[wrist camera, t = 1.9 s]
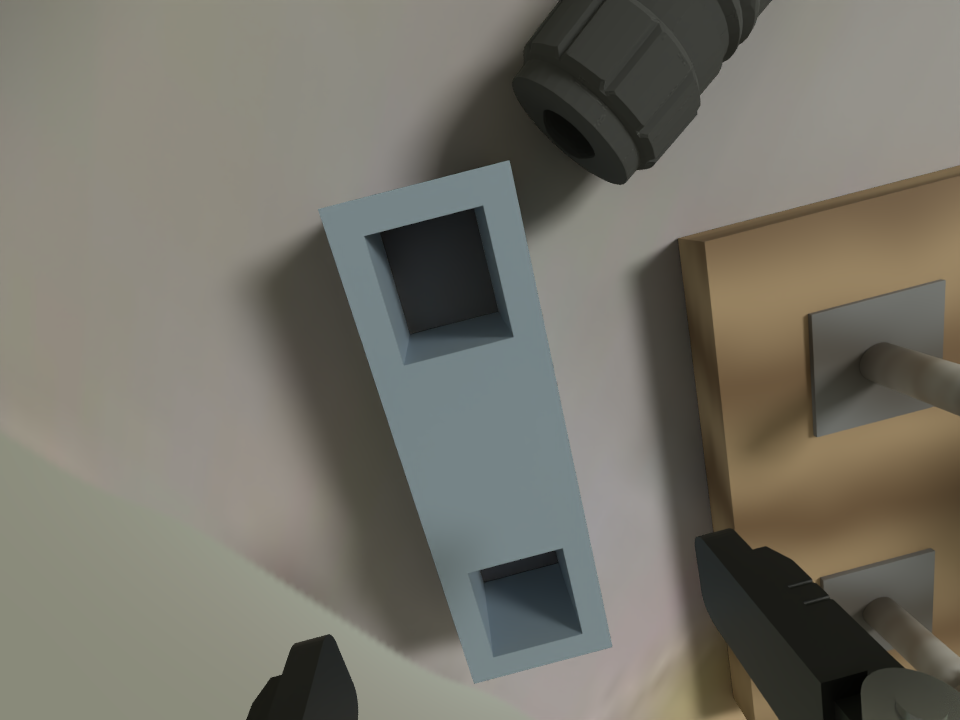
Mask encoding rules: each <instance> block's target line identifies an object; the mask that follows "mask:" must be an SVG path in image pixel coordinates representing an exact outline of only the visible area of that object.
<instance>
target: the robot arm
mask: <svg viewBox="0 0 960 720" xmlns="http://www.w3.org/2000/svg"><path fill="white" fill-rule="evenodd" d="M695 550H696V557H697V563H698V570H699V577H700V584H701V591H702V596H703V600H704V603H705V606H706V608H707V611H708V613H709V615H710V617H711V619H712V621H713V623H714V625H715V626H716V628H717V629H718V631H719V632H720V634H721V635H722V637H723V638H724V640H725V641H726V642H727V644H728V645H729V647H730V648H731V650H732V651H733V653H734V654H735V656H736V657H737V659H738V660H739V662H740V663H741V664H742V666H743V667H744V669H745V670H746V672H747V673H748V675H749V676H750V678H751V679H752V681H753V682H754V684H755V685H756V687H757V688H758V689H759V691H760V692H761V694H762V695H763V697H764V698H765V700H766V701H767V703H768V704H769V706H770V707H771V709H772V710H773V712H774V713H775V714H776V716H777V717H778V719H779V720H960V692H958V691H957V690H956V689H954V688H953V687H951V686H950V685H948V684H947V683H945V682H943V681H941V680H939V679H937V678H935V677H933V676H930V675H928V674H925V673H922V672H919V671H915V670H911V669H906V668H904V667H903V666H902V665H901V664H900V663H899V662H898V661H897V660H896V659H895V658H894V657H892V656H891V655H890V654H889V653H888V652H887V651H886V650H885V649H884V648H883V647H882V646H881V645H880V644H879V643H878V642H877V641H876V640H875V639H874V638H873V637H872V636H871V635H870V634H869V633H868V632H867V631H866V630H865V629H864V628H862V627H861V626H860V625H859V624H858V623H857V622H856V621H855V620H854V619H853V618H852V617H851V616H850V615H849V614H848V613H847V612H846V611H845V610H844V609H843V608H842V607H841V606H840V605H839V604H838V603H837V602H836V601H835V600H834V599H830V597H829V595H828V594H827V593H826V592H825V591H824V590H823V589H822V588H821V587H820V586H819V585H818V584H817V583H814V582H813V580H812V578H811V577H810V576H809V575H808V574H807V573H806V572H805V571H804V570H802V569H801V568H800V567H799V566H798V565H797V564H796V563H795V562H794V561H793V560H792V559H790V558H788V557H786V556H784V555H782V554H780V553H779V552H777V551H775V550H773V549H771V548H769V547H767V546H764V547H760V548H756V549H752V548H751V547H750V546H749V545H748V544H747V543H746V542H745V541H744V540H743V539H742V538H741V536H740V535H739V534H738V533H737V532H736V531H735V530H733V529H731V528H727V529H724V530H720V531H716V532H713V533H709V534H705V535H701V536H698V537H696V538H695ZM246 720H358V701H357V695H356V690H355V687H354V684H353V682H352V679H351V677H350V675H349V672H348V670H347V667H346V665H345V662H344V660H343V658H342V655H341V653H340V651H339V648H338V646H337V643H336V641H335V639H334V638H333V636H331V635H330V634H328V635H324V636H321V637H317V638H313V639H309V640H306V641H302V642H299V643H295V644H294V645H293V646H292V648H291V650H290V652H289V655H288V658H287V661H286V664H285V667H284V670H283V674H282V675H279V676H276V677H272V678H270V680H269V681H268V682H267V684H266V685H265V687H264V688H263V690H262V691H261V692H260V694H259V695H258V696H257V698H256V699H255V701H254V702H253V703H252V706H251V709H250V711H249V714H248V717H247V719H246Z"/></svg>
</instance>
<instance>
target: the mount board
mask: <svg viewBox="0 0 960 720" xmlns="http://www.w3.org/2000/svg"><path fill="white" fill-rule="evenodd" d="M678 243H679V252H680V260H681V268H682V276H683V285H684V293H685V301H686V309H687V318H688V326H689V334H690V342H691V351H692V359H693V367H694V375H695V384H696V392H697V400H698V408H699V417H700V425H701V433H702V441H703V450H704V458H705V466H706V475H707V483H708V491H709V499H710V508H711V516H712V524H713V532H716V531H720V530H724V529H727V528H731V529H733V530H735V531H736V532H737V533H738V534H739V535H740V536H741V538H742V539H743V540H744V541H745V542H746V543H747V544H748V545H749V546H750V547H751V548H752V549H756V548H760V547H764V546H767V547H769V548H771V549H773V550H775V551H777V552H779V553H780V554H782V555H784V556H786V557H788V558H790V559H792V560H793V561H794V562H795V563H796V564H797V565H798V566H799V567H800V568H801V569H802V570H804V571H805V572H806V573H807V574H808V575H809V576H810V577H811V578H812V580H813V582H814V583H817V584H818V585H819V586H820V587H821V588H822V589H823V590H824V591H825V592H826V593H827V594H828V595H829V597H830V599H834V600H835V601H836V602H837V603H838V604H839V605H840V606H841V607H842V608H843V609H844V610H845V611H846V612H847V613H848V614H849V615H850V616H851V617H852V618H853V619H854V620H855V621H856V622H857V623H858V624H859V625H860V626H861V627H862V628H864V629H865V630H866V631H867V632H868V633H869V634H870V635H871V636H872V637H873V638H874V639H875V640H876V641H877V642H878V643H879V644H880V645H881V646H882V647H883V648H884V649H885V650H886V651H887V652H888V653H889V654H890V655H891V656H892V657H894V658H895V659H896V660H897V661H898V662H899V663H900V664H901V665H902V666H903V667H904V668H906V669H911V670H915V671H919V672H922V673H925V674H928V675H930V676H933V677H935V678H937V679H939V680H941V681H943V682H945V683H947V684H948V685H950V686H951V687H953V688H954V689H956V690H957V691H958V692H960V165H959V166H956V167H952V168H948V169H944V170H940V171H936V172H932V173H929V174H925V175H921V176H917V177H913V178H909V179H905V180H901V181H898V182H894V183H890V184H886V185H882V186H878V187H874V188H871V189H867V190H863V191H859V192H855V193H851V194H847V195H843V196H840V197H836V198H832V199H828V200H824V201H820V202H816V203H813V204H809V205H805V206H801V207H797V208H793V209H789V210H786V211H782V212H778V213H774V214H770V215H766V216H762V217H758V218H755V219H751V220H747V221H743V222H739V223H735V224H731V225H728V226H724V227H720V228H716V229H712V230H708V231H704V232H701V233H697V234H693V235H689V236H685V237H681V238H678ZM727 648H728V656H729V664H730V673H731V681H732V689H733V697H734V699H735V701H736V702H737V704H738V706H739V707H740V709H741V711H742V712H743V714H744V716H745V717H746V719H747V720H779V719H778V717H777V716H776V714H775V713H774V712H773V710H772V709H771V707H770V706H769V704H768V703H767V701H766V700H765V698H764V697H763V695H762V694H761V692H760V691H759V689H758V688H757V687H756V685H755V684H754V682H753V681H752V679H751V678H750V676H749V675H748V673H747V672H746V670H745V669H744V667H743V666H742V664H741V663H740V662H739V660H738V659H737V657H736V656H735V654H734V653H733V651H732V650H731V648H730V647H729V645H728V644H727Z"/></svg>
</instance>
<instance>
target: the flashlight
mask: <svg viewBox="0 0 960 720" xmlns="http://www.w3.org/2000/svg"><path fill="white" fill-rule="evenodd" d="M771 1H772V0H560V1H559V2H558V3H557V5H556V6H555V7H554V9H553V10H552V11H551V13H550V14H549V15H548V17H547V18H546V19H545V21H544V22H543V23H542V24H541V26H540V27H539V28H538V30H537V31H536V32H535V34H534V35H533V36H532V38H531V39H530V40H529V42H528V43H527V44H526V46H525V48H524V54H523V56H524V66H523V67H522V69H521V70H520V71H519V73H518V74H517V75H516V77H515V78H514V80H513V82H512V85H513V90H514V93H515V95H516V97H517V99H518V100H519V102H520V104H521V105H522V107H523V108H524V110H525V111H526V112H527V114H528V115H529V116H530V118H531V119H532V120H533V121H534V123H535V124H536V125H537V126H538V127H539V128H540V129H541V130H542V132H543V133H544V134H545V135H546V136H547V137H548V138H549V139H550V140H551V141H552V142H554V143H555V144H556V145H557V146H558V147H559V148H560V149H561V150H562V151H563V152H564V153H565V154H567V155H568V156H569V157H570V158H572V159H573V160H574V161H575V162H577V163H578V164H579V165H581V166H582V167H584V168H585V169H586V170H588V171H589V172H591V173H593V174H594V175H596V176H598V177H600V178H602V179H603V180H605V181H608V182H610V183H613V184H619V185H621V184H624V183H626V182H627V181H628V179H629V178H630V177H631V176H632V175H633V174H634V172H635V171H636V170H643V169H648V168H651V167H652V166H653V165H654V164H655V163H656V162H657V161H658V160H659V158H660V157H661V156H662V155H663V154H664V153H665V151H666V150H667V149H668V148H669V147H670V146H671V144H672V143H673V142H674V141H675V140H676V139H677V137H678V136H679V135H680V134H681V133H682V132H683V130H684V129H685V128H686V127H687V126H688V125H689V123H690V122H691V121H692V120H693V119H694V118H695V116H696V115H697V110H698V108H699V107H700V95H701V94H702V92H703V91H704V90H705V89H706V88H707V86H708V85H709V84H710V83H711V82H712V80H713V79H714V78H715V77H716V76H717V75H718V73H719V71H720V69H721V66H722V62H724V61H726V60H728V59H729V58H730V57H731V56H732V55H733V54H734V52H735V51H736V49H737V47H738V45H739V44H741V43H742V42H743V41H744V40H745V39H746V38H747V37H748V36H749V34H750V32H751V31H752V29H753V27H754V26H755V23H756V20H757V17H758V16H759V15H760V14H761V13H762V11H763V10H764V9H765V8H766V7H767V5H768V4H769V3H770V2H771Z"/></svg>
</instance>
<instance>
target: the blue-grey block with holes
mask: <svg viewBox="0 0 960 720" xmlns="http://www.w3.org/2000/svg"><path fill="white" fill-rule="evenodd" d="M471 208H474V211H475V215H476V219H477V223H478V227H479V232H480V236H481V240H482V244H483V248H484V253H485V257H486V261H487V265H488V269H489V274H490V278H491V282H492V286H493V290H494V295H495V299H496V303H497V307H498V311H499V312H495V313H491V314H487V315H483V316H479V317H476V318H472V319H468V320H464V321H460V322H456V323H452V324H449V325H445V326H441V327H437V328H433V329H429V330H425V331H422V332H418V333H414V334H410V333H409V329H408V326H407V322H406V319H405V316H404V312H403V309H402V306H401V302H400V299H399V296H398V292H397V289H396V285H395V282H394V279H393V275H392V272H391V269H390V265H389V262H388V259H387V255H386V252H385V248H384V245H383V242H382V238H381V235H380V232H382V231H386V230H390V229H394V228H398V227H401V226H405V225H409V224H413V223H417V222H421V221H425V220H429V219H433V218H436V217H440V216H444V215H448V214H452V213H456V212H460V211H464V210H467V209H471ZM318 211H319V214H320V217H321V220H322V223H323V226H324V229H325V232H326V235H327V238H328V241H329V244H330V247H331V250H332V253H333V256H334V259H335V262H336V265H337V268H338V271H339V274H340V278H341V281H342V284H343V287H344V290H345V293H346V296H347V299H348V302H349V305H350V308H351V311H352V314H353V317H354V320H355V323H356V326H357V329H358V332H359V335H360V338H361V341H362V344H363V347H364V350H365V353H366V357H367V360H368V363H369V366H370V369H371V372H372V375H373V378H374V381H375V384H376V387H377V390H378V393H379V396H380V399H381V402H382V405H383V408H384V411H385V414H386V417H387V420H388V423H389V426H390V429H391V432H392V435H393V439H394V442H395V445H396V448H397V451H398V454H399V457H400V460H401V463H402V466H403V469H404V472H405V475H406V478H407V481H408V484H409V487H410V490H411V493H412V496H413V499H414V502H415V505H416V508H417V511H418V514H419V518H420V521H421V524H422V527H423V530H424V533H425V536H426V539H427V542H428V545H429V548H430V551H431V554H432V557H433V560H434V563H435V566H436V569H437V572H438V575H439V578H440V581H441V584H442V587H443V590H444V593H445V596H446V600H447V603H448V606H449V609H450V612H451V615H452V618H453V621H454V624H455V627H456V630H457V633H458V636H459V639H460V642H461V645H462V648H463V651H464V654H465V657H466V660H467V663H468V666H469V669H470V672H471V675H472V679H473V682H474V684H475V683H479V682H482V681H486V680H490V679H494V678H497V677H501V676H505V675H509V674H512V673H516V672H520V671H524V670H528V669H531V668H535V667H539V666H543V665H546V664H550V663H554V662H558V661H561V660H565V659H569V658H573V657H577V656H580V655H584V654H588V653H592V652H595V651H599V650H603V649H607V648H611V647H612V643H611V638H610V633H609V629H608V624H607V619H606V614H605V610H604V605H603V600H602V595H601V591H600V586H599V581H598V577H597V572H596V567H595V562H594V558H593V553H592V548H591V543H590V539H589V534H588V529H587V524H586V520H585V515H584V510H583V506H582V501H581V496H580V491H579V487H578V482H577V477H576V472H575V468H574V463H573V458H572V454H571V449H570V444H569V439H568V435H567V430H566V425H565V420H564V416H563V411H562V406H561V401H560V397H559V392H558V387H557V383H556V378H555V373H554V368H553V364H552V359H551V354H550V349H549V345H548V340H547V335H546V330H545V326H544V321H543V316H542V312H541V307H540V302H539V297H538V293H537V288H536V283H535V278H534V274H533V269H532V264H531V260H530V255H529V250H528V245H527V241H526V236H525V231H524V226H523V222H522V217H521V212H520V207H519V203H518V198H517V193H516V189H515V184H514V179H513V174H512V170H511V165H510V160H508V161H504V162H500V163H496V164H492V165H488V166H485V167H481V168H477V169H473V170H469V171H465V172H461V173H457V174H453V175H449V176H446V177H442V178H438V179H434V180H430V181H426V182H422V183H418V184H414V185H411V186H407V187H403V188H399V189H395V190H391V191H387V192H383V193H379V194H375V195H372V196H368V197H364V198H360V199H356V200H352V201H348V202H344V203H340V204H337V205H333V206H329V207H325V208H321V209H318ZM554 550H555V551H556V555H557V559H558V563H557V564H553V565H549V566H546V567H542V568H538V569H534V570H531V571H527V572H523V573H519V574H515V575H512V576H508V577H504V578H500V579H496V580H493V581H489V582H485V583H484V582H483V578H482V575H481V571H480V570H482V569H486V568H489V567H493V566H497V565H501V564H504V563H508V562H512V561H516V560H520V559H523V558H527V557H531V556H535V555H539V554H542V553H546V552H550V551H554Z"/></svg>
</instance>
